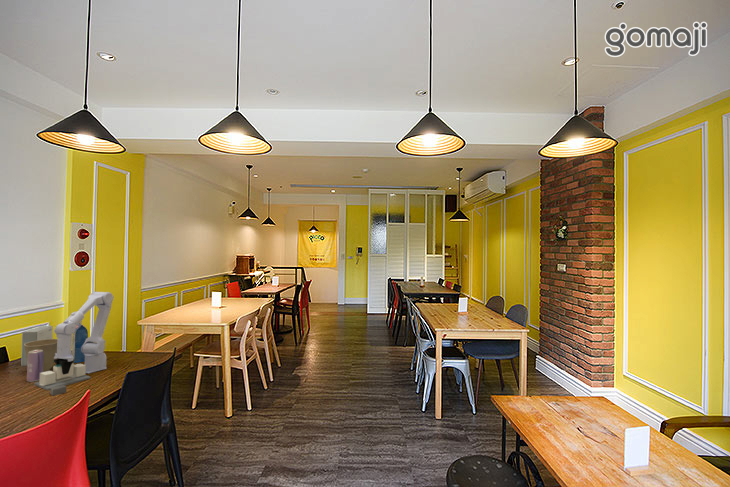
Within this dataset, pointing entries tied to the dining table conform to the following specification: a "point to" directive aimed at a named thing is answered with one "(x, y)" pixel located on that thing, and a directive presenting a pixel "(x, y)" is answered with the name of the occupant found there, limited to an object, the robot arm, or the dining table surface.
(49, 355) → the plant pot
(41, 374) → the board
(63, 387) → the block
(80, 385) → the dining table surface
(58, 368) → the block
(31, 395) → the dining table surface
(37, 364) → the beverage can
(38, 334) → the hard drive box
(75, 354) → the blue food package
